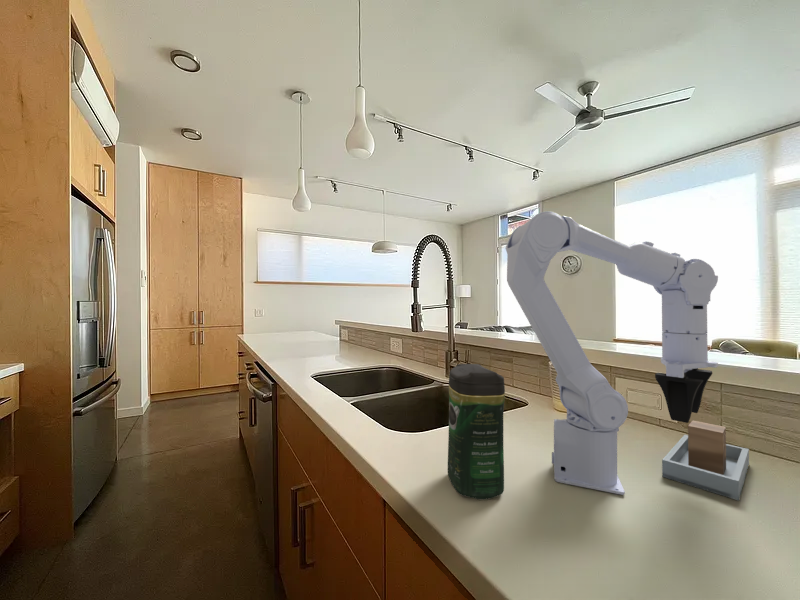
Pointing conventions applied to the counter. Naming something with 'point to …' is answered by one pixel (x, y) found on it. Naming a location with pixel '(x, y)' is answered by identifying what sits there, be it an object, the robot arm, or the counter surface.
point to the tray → (720, 484)
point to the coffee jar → (476, 431)
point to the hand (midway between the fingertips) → (684, 416)
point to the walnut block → (707, 447)
